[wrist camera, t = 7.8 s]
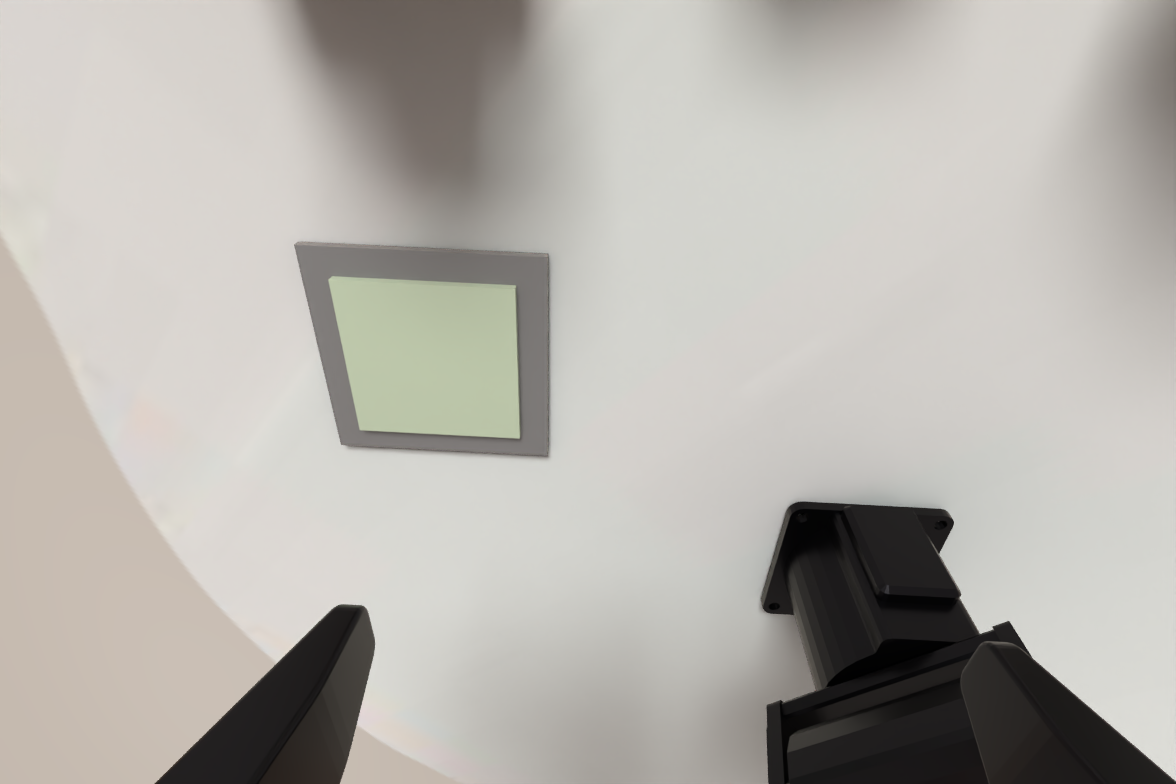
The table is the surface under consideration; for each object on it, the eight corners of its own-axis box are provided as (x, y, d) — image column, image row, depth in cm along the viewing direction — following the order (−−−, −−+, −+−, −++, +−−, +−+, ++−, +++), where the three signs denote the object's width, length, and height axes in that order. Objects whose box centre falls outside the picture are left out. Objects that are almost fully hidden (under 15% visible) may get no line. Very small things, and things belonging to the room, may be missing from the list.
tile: (548, 451, 24) (546, 460, 23) (343, 440, 24) (338, 449, 23) (548, 253, 19) (546, 260, 19) (298, 241, 19) (290, 248, 19)
